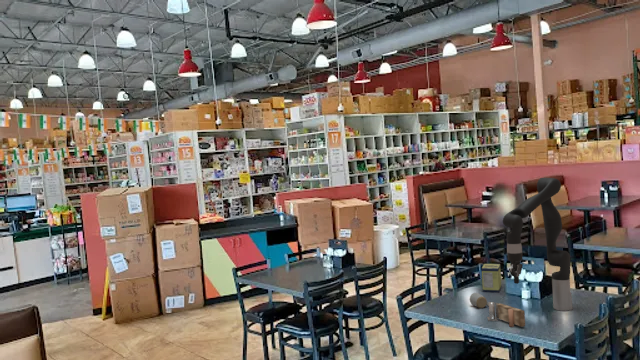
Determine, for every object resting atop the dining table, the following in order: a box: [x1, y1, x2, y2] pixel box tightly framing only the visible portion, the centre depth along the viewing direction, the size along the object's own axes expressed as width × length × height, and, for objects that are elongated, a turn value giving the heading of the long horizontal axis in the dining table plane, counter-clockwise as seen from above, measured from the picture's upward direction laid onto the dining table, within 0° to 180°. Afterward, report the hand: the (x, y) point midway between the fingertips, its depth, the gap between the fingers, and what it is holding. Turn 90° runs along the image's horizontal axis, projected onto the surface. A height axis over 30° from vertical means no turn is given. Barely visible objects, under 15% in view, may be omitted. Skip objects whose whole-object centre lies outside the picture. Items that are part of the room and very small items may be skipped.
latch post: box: [508, 309, 515, 328], centre depth 276 cm, size 2×2×9 cm
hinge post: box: [486, 301, 499, 322], centre depth 289 cm, size 5×5×10 cm
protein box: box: [481, 263, 503, 293], centre depth 348 cm, size 10×16×16 cm
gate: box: [494, 302, 526, 328], centre depth 280 cm, size 19×2×8 cm, turn 25°
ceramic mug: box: [469, 292, 489, 309], centre depth 313 cm, size 11×8×8 cm
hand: (516, 283), depth 284 cm, fingers closed
